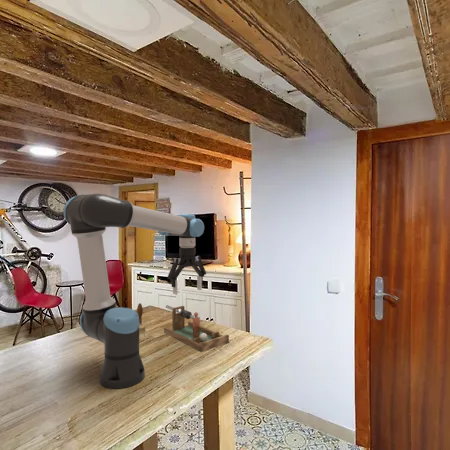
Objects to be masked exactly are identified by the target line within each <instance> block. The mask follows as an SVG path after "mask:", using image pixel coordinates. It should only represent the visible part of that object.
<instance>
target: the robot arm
mask: <svg viewBox="0 0 450 450" xmlns="http://www.w3.org/2000/svg"><path fill="white" fill-rule="evenodd" d="M63 207H64V208H63V218H64V219H65V221H66V222H67V223H68V225H70V231H71V235H72V236H74V237H75V238H76V240H77V247H78V254H79V261H80V267H81V274H82V282H83V289H84V295H85V302H84V304H83V305H82V312H81V314H80V317H79V326H80V329H81V330H82V332H83V333H85V335H87V337H90V338H91V339H95V340H97V341H99V342H101V343H103V344H104V348H103V349H104V359H103V363H102V365H101V367H100V372H99V377H98V378H99V384H100V385H101V386H103V387H104V388H107V389H125V388H129V387H132V386H135V385H137V384H138V383H140V382H141V381H143V380H144V378H145V375H146V374H145V371H146V369H145V366H144V363H143V359H142V357H141V355H140V341H139V325H140V323H139V316H138V313H137V310H135V309H133V308H129V307H117V304H116V299H115V298H113V297H112V296H111V289H110V284H109V274H108V268H107V267H108V266H107V262H106V260H107V259H106V253H105V252H106V251H105V245H104V238H103V237H104V236H103V234H104V233H105V232H106V231H107V228H120V229H121V228H122V229H123V228H124V229H126V228H128V227H132V228H133V227H134V228H139V229H145V230H149V231H156V232H158V234H159V235H161V236H165V237H166V236H167V237H168V236H173V237H174V236H177V237H178V236H179V245H178V246H179V248H178V250H179V252H178V253H179V258H177V257H174V258H173V260H172V261H173V263H172V265H171V267H170V270H169V273H168V274H167V279H169V280H171V281H170V282H171V283H170V284H171V287H172V294H173V295H178V280H177V278H178V277H179V276H180V274H181V273H182V271H183V269H185V268H189V267H192V269H193V270H194V272H195V273H196V274H197V275H196V285H197V287H196V289H197V290H198V291H202V289H203V287H202V285H203V282H204V277H205V275H207V271H206V268H205V267H204V265H203V262H202V256H200V255H196V249H197V248H196V237H197V238H199V237H201V236H202V235H203V234H204V233H205V232H204V231H205V224H204V222H203V221H202V219H200V218H196V215H195V214H194V213H192V214H191V213H189V214H187V213H182V214H179V215H176V214H173V213H167V212H164V211H158V210H155V209H151V208H146V207H143V206H137V205H135V204H134V205H133V203H132V202H131V201H129V200H125V199H123V198H122V199H121V198H118V197H116V196H115V197H114V196H112V195H107V194H103V193H88V194H87V193H86V194H82V193H81V194H77V195H74V196H73V197H71V198H70V199H68V200H67V202H66V203H65V205H64V206H63ZM195 261H196V262H195ZM196 263H197V264H196Z"/></svg>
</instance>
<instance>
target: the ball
mask: <svg viewBox="0 0 450 450" xmlns="http://www.w3.org/2000/svg"><path fill="white" fill-rule="evenodd" d="M200 340H201V341H206V340H207V334H205V333H202V334H201V335H200Z"/></svg>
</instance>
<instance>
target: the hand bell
mask: <svg viewBox="0 0 450 450" xmlns="http://www.w3.org/2000/svg"><path fill="white" fill-rule="evenodd" d="M143 311H144V309H143V305H142V303H138V304H137V308H136V312H137V313H138V316H139V323H140V325H139V342H140V341H142V340H144V339H147V338H150V336H149V334H148V333H147V331H146V326H145V324H143V323H142V322H143V321H142V320H143V318H142V316H143V313H144V312H143Z"/></svg>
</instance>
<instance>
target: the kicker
mask: <svg viewBox="0 0 450 450" xmlns="http://www.w3.org/2000/svg"><path fill="white" fill-rule="evenodd" d="M165 308H166V309H168V310H171V311H172V308H174V307H173V306H170V305H168V304H167V305H165ZM176 313H180V314H181V316H182V317H184V318H185V319H186V320H190V319H191V320H192V322H193V338H196V337H199V336H200V326H201V325H200V324H201V323H200V316H199V312H194V313H192V312H191V311H189V310H187V309H184V310H182V311H181V309H177V310H176ZM192 314H193V315H192Z"/></svg>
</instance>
